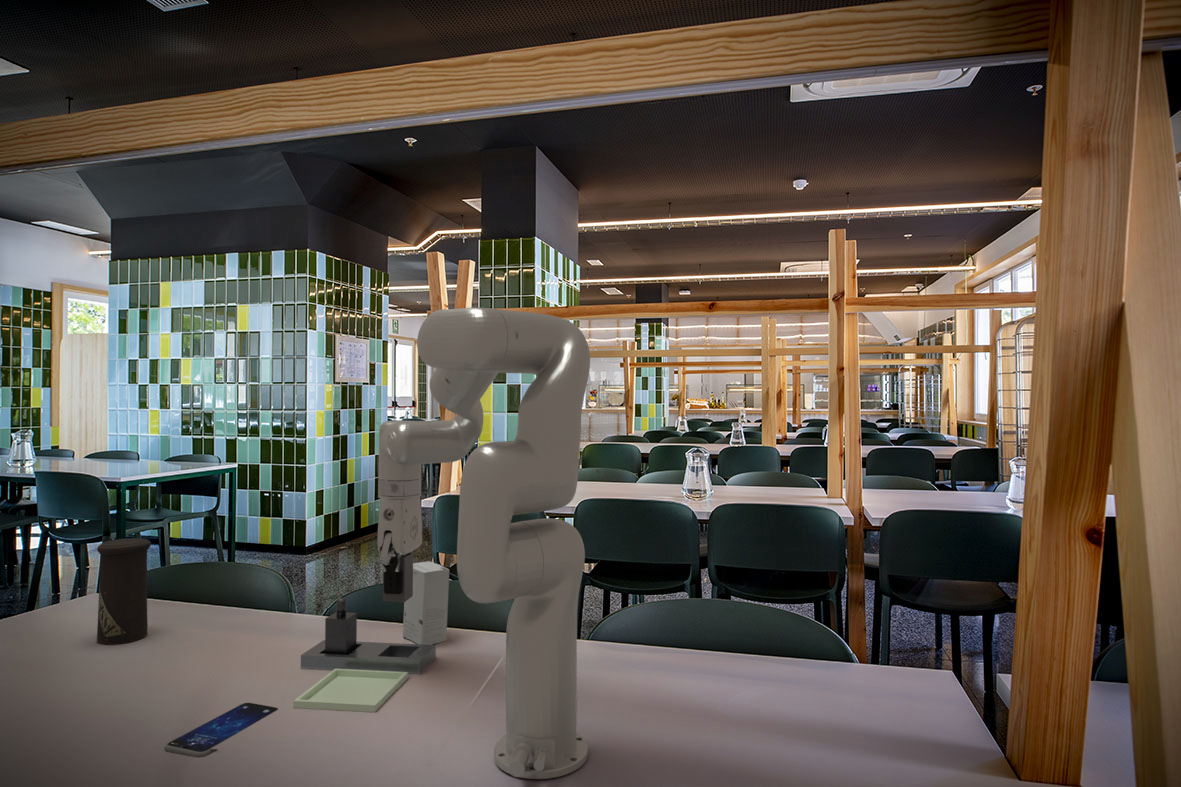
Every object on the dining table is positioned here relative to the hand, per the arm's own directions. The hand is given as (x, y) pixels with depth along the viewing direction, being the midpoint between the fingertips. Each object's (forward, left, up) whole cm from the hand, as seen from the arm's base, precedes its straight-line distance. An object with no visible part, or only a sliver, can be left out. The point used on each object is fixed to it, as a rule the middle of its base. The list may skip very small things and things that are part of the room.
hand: (398, 588), depth 124 cm
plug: (0, 0, -2) cm, 2 cm away
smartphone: (-26, +15, -15) cm, 34 cm away
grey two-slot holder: (0, +5, -14) cm, 15 cm away
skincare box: (+15, 0, -14) cm, 20 cm away
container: (+8, +61, -14) cm, 63 cm away
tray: (-13, +2, -14) cm, 19 cm away
